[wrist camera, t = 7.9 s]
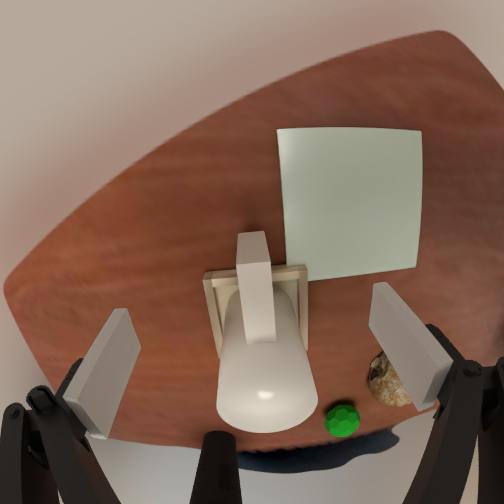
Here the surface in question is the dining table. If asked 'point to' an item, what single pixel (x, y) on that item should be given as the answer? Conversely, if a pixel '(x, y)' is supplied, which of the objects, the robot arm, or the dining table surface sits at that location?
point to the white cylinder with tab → (262, 350)
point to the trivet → (350, 199)
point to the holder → (226, 284)
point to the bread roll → (387, 383)
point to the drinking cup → (217, 471)
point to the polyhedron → (342, 420)
